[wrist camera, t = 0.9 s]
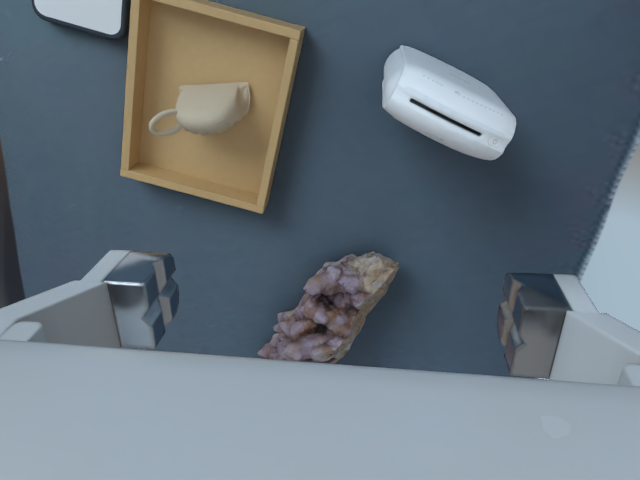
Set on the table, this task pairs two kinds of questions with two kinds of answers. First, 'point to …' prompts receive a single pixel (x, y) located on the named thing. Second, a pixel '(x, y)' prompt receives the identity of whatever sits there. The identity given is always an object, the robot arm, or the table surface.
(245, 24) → the tray
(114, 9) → the smartphone
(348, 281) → the mineral specimen
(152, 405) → the robot arm
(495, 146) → the photo printer
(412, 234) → the table surface
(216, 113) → the decorative ornament
